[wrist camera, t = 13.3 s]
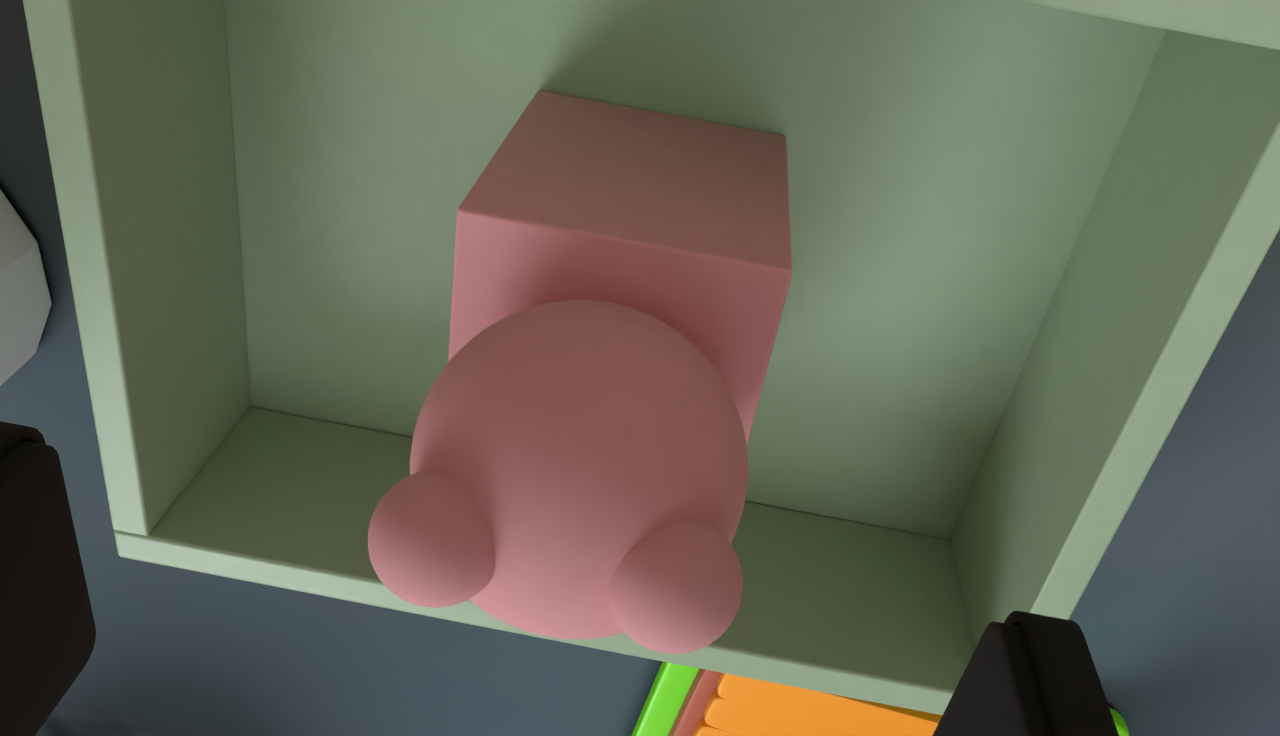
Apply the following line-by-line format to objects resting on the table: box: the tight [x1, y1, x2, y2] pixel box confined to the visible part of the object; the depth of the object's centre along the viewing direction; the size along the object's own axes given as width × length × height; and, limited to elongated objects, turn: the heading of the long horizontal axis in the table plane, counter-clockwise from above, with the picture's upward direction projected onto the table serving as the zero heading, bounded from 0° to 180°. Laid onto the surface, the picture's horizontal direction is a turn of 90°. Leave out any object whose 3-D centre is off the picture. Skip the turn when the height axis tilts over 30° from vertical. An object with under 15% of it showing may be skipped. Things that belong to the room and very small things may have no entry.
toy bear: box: [368, 90, 792, 654], centre depth 15 cm, size 5×5×10 cm
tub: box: [23, 0, 1280, 715], centre depth 18 cm, size 13×17×5 cm
